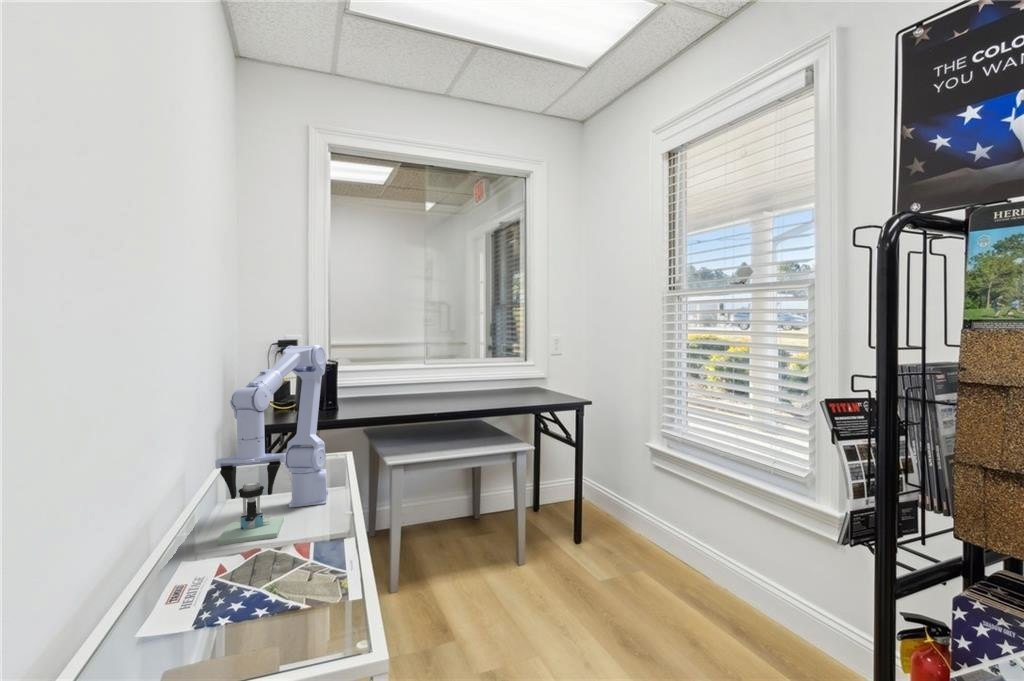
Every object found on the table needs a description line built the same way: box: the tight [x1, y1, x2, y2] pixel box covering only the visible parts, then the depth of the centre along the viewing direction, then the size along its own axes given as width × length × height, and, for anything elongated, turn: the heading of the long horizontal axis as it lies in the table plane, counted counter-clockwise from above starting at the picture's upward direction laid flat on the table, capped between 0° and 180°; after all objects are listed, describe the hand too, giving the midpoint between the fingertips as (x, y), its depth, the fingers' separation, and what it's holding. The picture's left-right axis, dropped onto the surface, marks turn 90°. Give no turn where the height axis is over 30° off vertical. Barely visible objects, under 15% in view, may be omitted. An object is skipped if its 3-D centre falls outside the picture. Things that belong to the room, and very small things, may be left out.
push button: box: [237, 482, 272, 530], centre depth 117 cm, size 7×5×10 cm
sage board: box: [216, 516, 285, 546], centre depth 116 cm, size 12×12×1 cm
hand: (252, 495), depth 116 cm, fingers open, 7 cm apart
